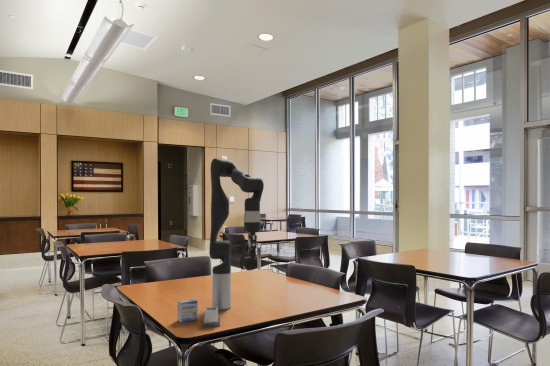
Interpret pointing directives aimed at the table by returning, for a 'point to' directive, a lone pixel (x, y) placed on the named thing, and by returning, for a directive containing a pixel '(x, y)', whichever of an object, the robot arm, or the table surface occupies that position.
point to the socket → (211, 314)
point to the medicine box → (187, 310)
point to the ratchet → (211, 323)
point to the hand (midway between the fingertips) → (252, 256)
